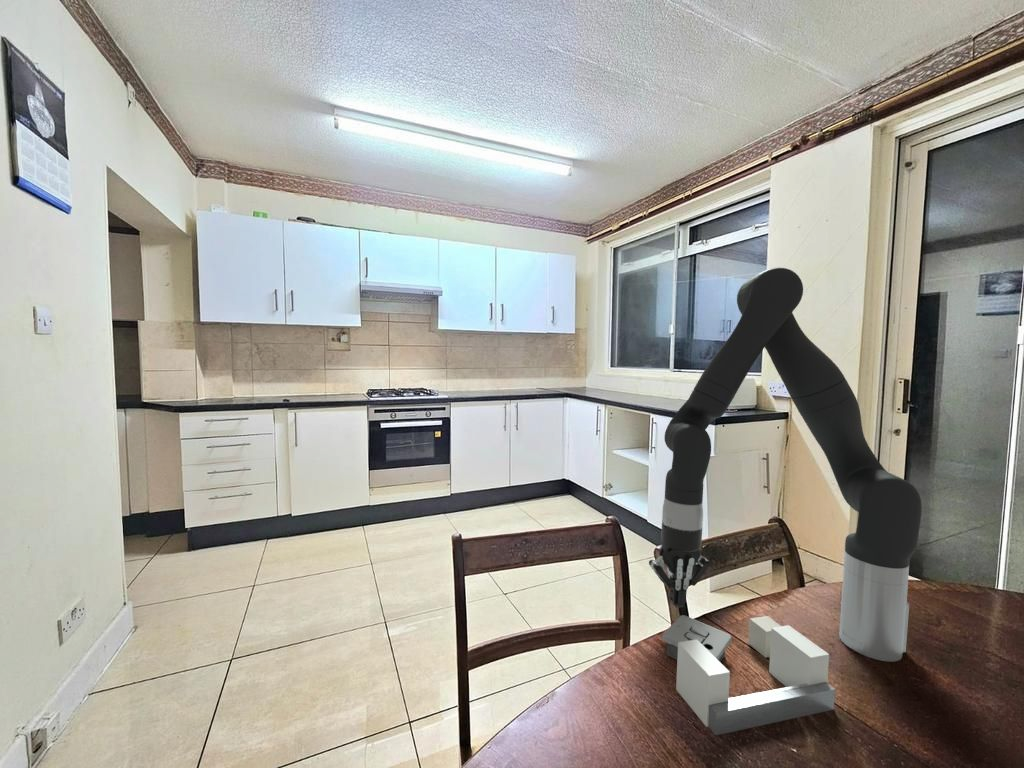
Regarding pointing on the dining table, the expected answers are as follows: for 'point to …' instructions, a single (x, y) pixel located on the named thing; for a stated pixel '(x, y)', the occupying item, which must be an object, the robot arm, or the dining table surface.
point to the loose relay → (761, 634)
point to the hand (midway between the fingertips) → (677, 604)
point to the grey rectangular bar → (770, 707)
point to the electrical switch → (695, 637)
